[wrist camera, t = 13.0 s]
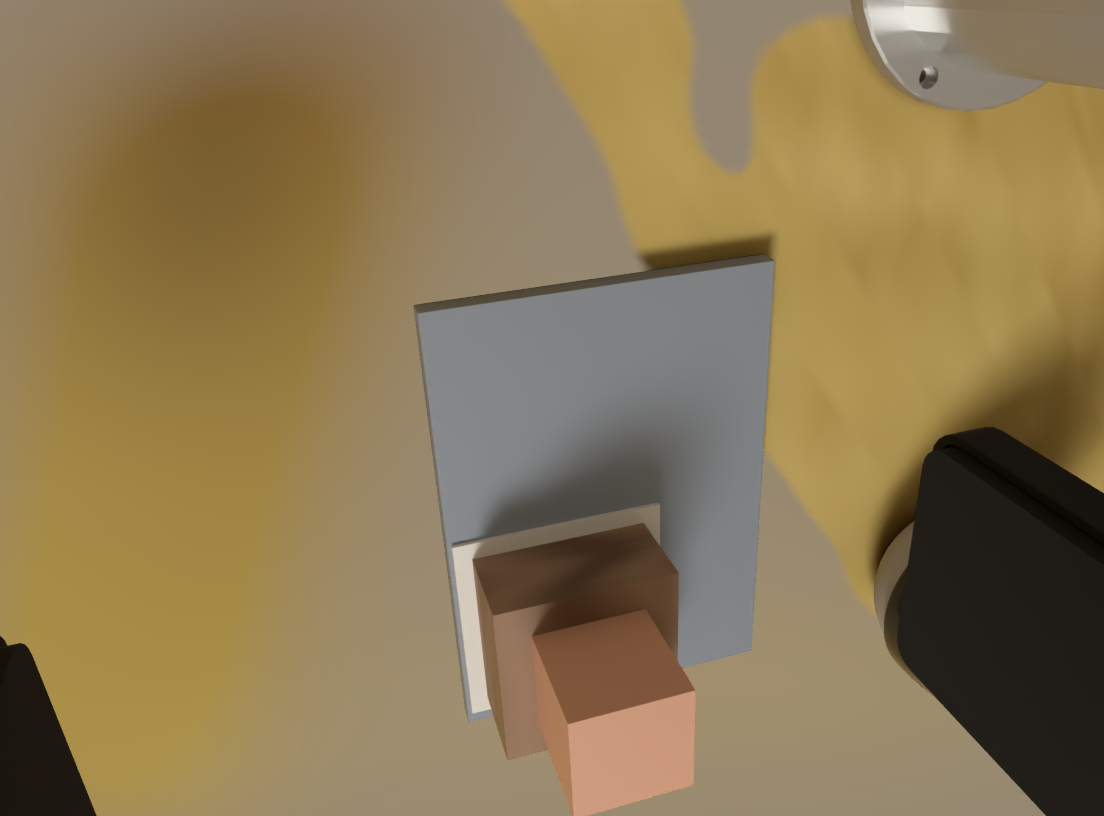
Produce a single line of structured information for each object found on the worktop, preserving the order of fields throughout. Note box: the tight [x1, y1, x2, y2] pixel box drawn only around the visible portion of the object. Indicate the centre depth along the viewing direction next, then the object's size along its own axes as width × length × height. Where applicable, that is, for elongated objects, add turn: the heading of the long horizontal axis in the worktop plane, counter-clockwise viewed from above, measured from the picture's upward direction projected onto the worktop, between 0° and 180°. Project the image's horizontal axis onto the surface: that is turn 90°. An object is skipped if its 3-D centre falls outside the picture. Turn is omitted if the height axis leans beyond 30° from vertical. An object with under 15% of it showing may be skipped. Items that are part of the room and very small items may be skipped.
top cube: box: [532, 609, 695, 816], centre depth 37 cm, size 5×5×5 cm
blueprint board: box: [414, 254, 775, 722], centre depth 41 cm, size 15×21×1 cm
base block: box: [472, 523, 679, 760], centre depth 40 cm, size 8×8×4 cm
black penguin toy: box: [874, 521, 938, 700], centre depth 43 cm, size 10×10×15 cm
